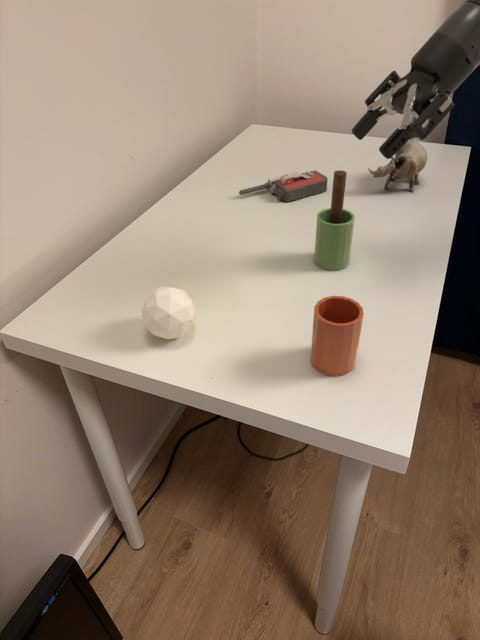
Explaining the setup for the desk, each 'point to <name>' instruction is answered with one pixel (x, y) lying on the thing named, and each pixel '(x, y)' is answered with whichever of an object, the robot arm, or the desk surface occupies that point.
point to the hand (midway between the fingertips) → (368, 145)
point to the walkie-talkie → (293, 185)
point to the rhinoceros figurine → (404, 165)
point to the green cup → (333, 241)
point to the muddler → (337, 197)
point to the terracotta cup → (336, 335)
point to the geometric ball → (168, 312)
